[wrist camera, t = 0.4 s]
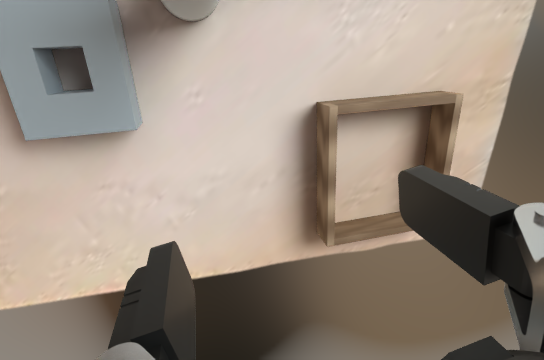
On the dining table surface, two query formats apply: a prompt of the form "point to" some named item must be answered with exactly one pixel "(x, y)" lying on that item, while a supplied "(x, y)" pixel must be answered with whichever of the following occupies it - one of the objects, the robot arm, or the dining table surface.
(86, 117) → the block
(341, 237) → the square wooden frame
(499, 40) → the dining table surface
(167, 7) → the travel mug
